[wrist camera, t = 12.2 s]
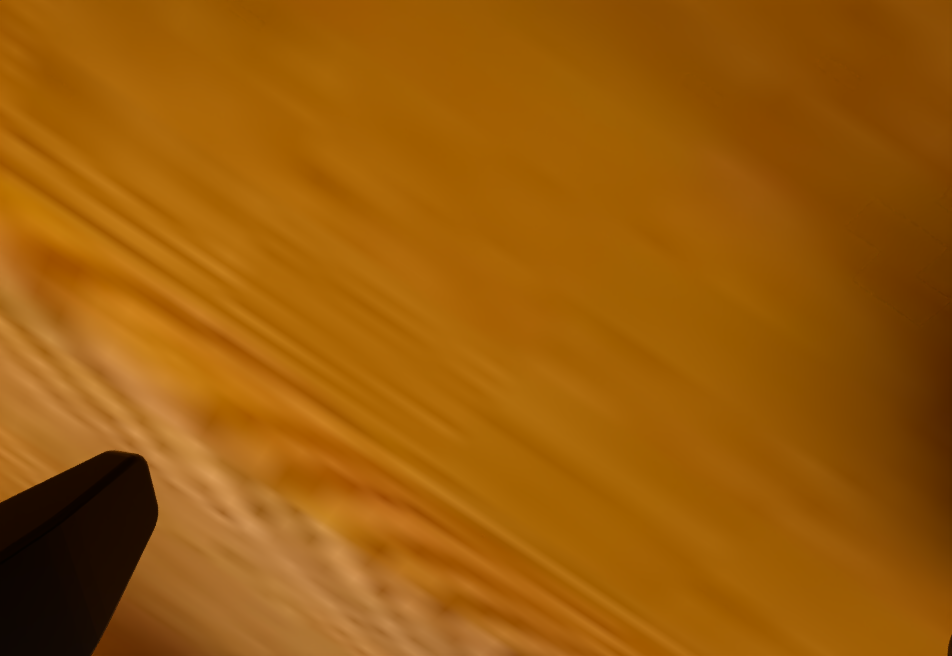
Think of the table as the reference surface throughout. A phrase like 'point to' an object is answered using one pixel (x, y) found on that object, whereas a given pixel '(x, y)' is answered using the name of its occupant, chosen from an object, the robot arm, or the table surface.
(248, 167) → the table surface
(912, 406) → the table surface
